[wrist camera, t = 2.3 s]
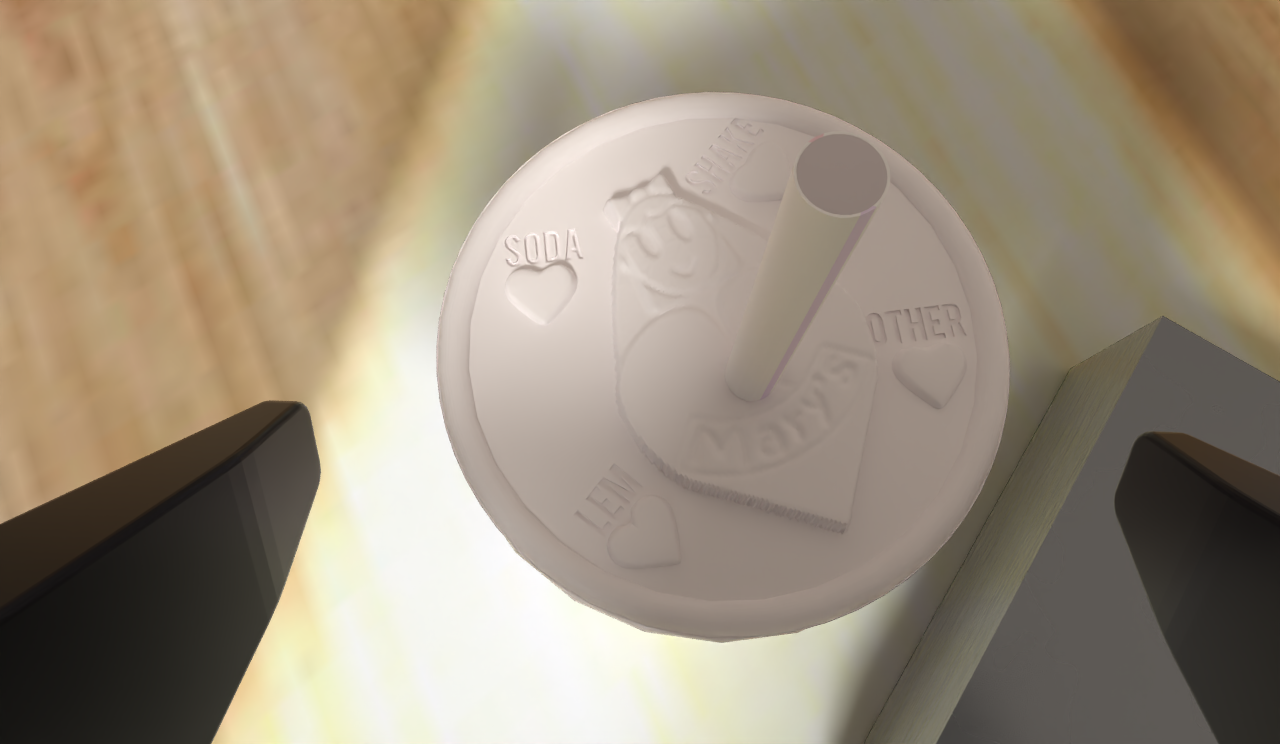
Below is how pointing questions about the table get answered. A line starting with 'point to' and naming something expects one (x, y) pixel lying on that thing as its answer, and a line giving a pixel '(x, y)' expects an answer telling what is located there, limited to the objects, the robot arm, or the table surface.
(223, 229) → the table surface
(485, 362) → the smoothie
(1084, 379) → the block
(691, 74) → the table surface
